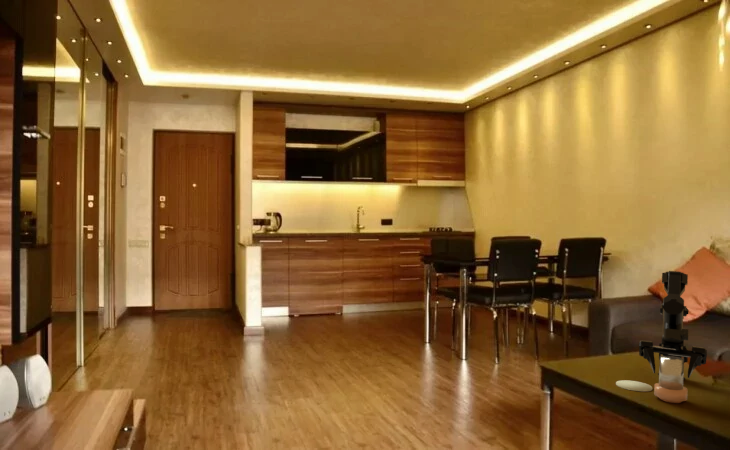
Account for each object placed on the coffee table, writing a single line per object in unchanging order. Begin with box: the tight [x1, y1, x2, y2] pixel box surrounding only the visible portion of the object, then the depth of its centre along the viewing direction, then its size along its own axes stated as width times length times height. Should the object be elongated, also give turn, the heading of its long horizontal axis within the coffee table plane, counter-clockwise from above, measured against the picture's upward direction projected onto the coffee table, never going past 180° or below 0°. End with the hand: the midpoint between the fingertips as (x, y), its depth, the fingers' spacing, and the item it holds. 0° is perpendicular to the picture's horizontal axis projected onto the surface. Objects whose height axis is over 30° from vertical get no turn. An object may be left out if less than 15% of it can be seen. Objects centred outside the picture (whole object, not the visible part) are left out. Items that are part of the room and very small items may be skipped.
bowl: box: [653, 382, 688, 404], centre depth 172 cm, size 9×9×4 cm
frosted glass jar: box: [658, 355, 685, 390], centre depth 172 cm, size 7×7×9 cm
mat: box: [615, 379, 653, 393], centre depth 185 cm, size 11×11×1 cm
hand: (671, 374), depth 171 cm, fingers open, 9 cm apart
